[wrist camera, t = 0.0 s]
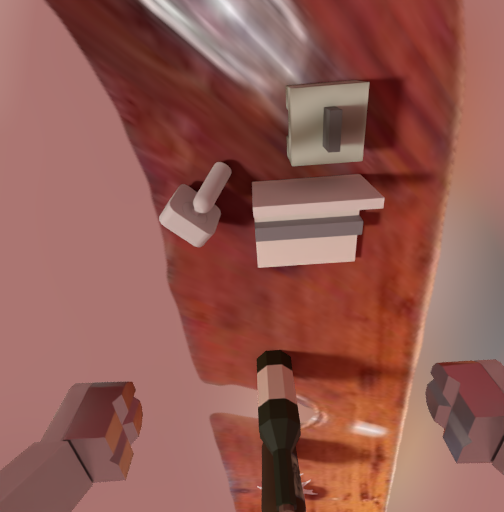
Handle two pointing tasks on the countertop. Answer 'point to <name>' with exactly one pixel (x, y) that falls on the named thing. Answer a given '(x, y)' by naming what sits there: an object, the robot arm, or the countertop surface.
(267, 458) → the olive oil
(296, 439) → the wine bottle
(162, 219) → the white block with rod
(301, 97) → the cabinet block
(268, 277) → the countertop surface
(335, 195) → the board
